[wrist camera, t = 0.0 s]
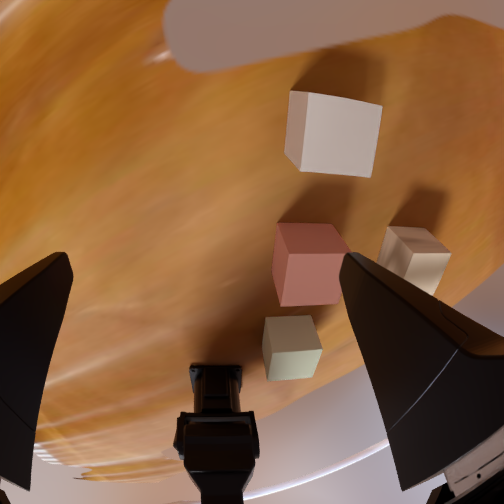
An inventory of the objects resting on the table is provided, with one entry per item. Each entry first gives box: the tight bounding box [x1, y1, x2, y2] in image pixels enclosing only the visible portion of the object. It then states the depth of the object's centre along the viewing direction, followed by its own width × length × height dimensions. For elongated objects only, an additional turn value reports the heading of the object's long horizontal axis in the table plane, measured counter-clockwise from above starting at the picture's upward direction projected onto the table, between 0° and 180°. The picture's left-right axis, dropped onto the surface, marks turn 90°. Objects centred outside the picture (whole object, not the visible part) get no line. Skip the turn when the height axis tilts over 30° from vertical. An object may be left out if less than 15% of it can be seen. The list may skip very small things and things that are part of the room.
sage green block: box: [262, 315, 323, 381], centre depth 30 cm, size 5×5×5 cm
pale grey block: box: [284, 91, 383, 178], centre depth 19 cm, size 5×5×5 cm
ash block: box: [377, 226, 451, 295], centre depth 26 cm, size 5×5×5 cm
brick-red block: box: [271, 223, 351, 307], centre depth 24 cm, size 5×5×5 cm
